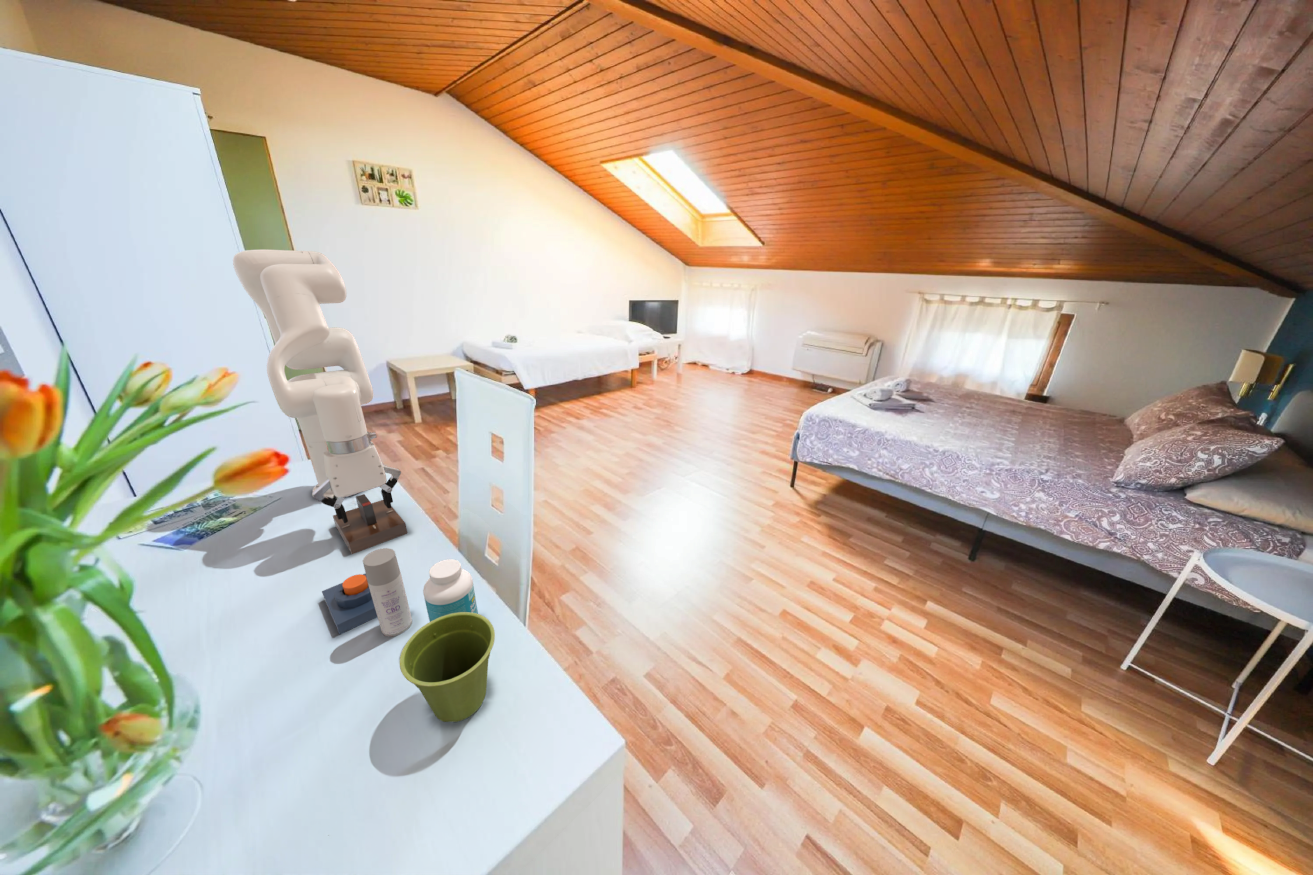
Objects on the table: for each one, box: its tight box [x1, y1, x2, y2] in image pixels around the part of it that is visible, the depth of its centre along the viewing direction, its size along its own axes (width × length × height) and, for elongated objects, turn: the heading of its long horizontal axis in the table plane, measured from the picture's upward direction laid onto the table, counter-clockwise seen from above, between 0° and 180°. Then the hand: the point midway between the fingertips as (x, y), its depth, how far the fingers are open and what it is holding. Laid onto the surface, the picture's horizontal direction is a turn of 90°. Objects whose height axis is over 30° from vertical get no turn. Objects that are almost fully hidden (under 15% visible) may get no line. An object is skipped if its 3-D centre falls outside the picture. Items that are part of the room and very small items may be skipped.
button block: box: [321, 572, 378, 635], centre depth 78 cm, size 11×9×4 cm
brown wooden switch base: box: [332, 499, 408, 555], centre depth 99 cm, size 14×11×3 cm
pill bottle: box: [422, 558, 479, 622], centre depth 72 cm, size 8×7×14 cm
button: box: [342, 573, 368, 596], centre depth 77 cm, size 4×4×2 cm
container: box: [362, 547, 413, 638], centre depth 72 cm, size 5×5×15 cm
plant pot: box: [399, 612, 496, 723], centre depth 61 cm, size 12×12×11 cm
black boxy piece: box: [355, 493, 377, 526], centre depth 97 cm, size 6×2×5 cm, turn 46°
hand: (366, 512), depth 97 cm, fingers open, 8 cm apart
